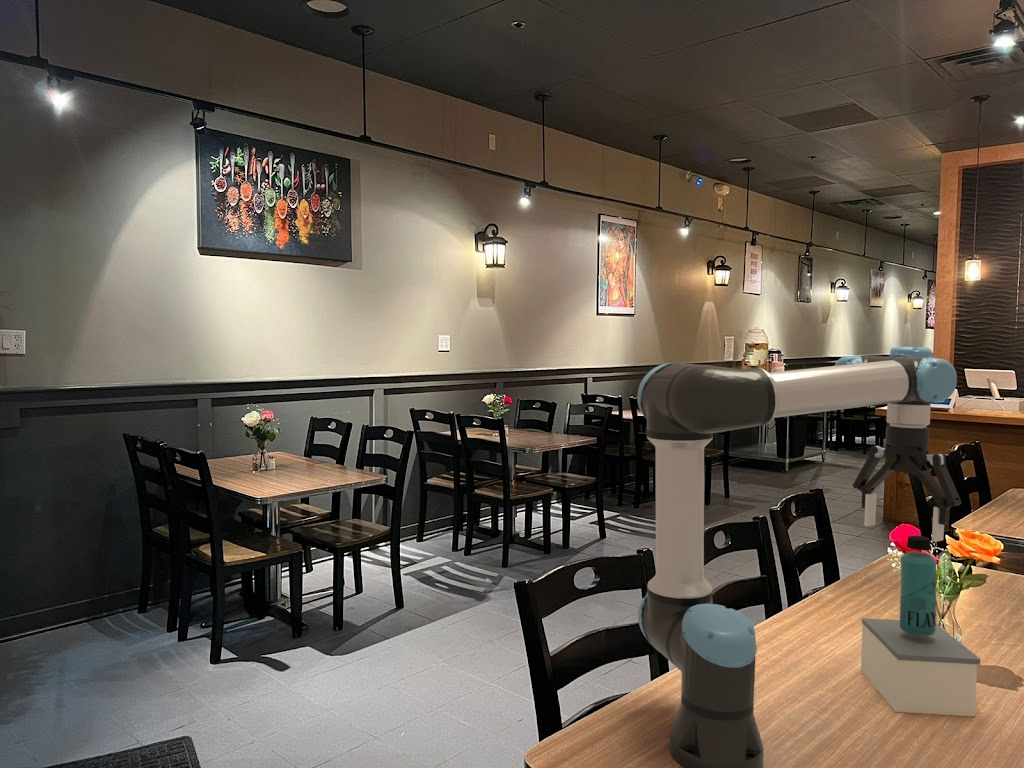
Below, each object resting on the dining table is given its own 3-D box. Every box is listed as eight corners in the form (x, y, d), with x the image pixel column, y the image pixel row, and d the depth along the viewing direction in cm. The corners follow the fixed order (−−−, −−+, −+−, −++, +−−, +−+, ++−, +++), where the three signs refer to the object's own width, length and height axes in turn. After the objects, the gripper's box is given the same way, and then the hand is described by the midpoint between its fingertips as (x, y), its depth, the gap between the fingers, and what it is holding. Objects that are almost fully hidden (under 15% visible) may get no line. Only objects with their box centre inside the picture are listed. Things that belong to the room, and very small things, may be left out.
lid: (898, 659, 138) (898, 654, 138) (861, 622, 157) (862, 618, 157) (980, 664, 137) (980, 659, 137) (933, 626, 155) (934, 621, 155)
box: (895, 711, 139) (897, 659, 139) (860, 670, 157) (862, 623, 157) (974, 716, 138) (977, 663, 137) (930, 673, 156) (932, 627, 155)
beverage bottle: (901, 641, 144) (903, 540, 143) (896, 629, 151) (897, 531, 150) (939, 645, 142) (941, 542, 141) (932, 632, 149) (933, 534, 148)
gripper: (985, 431, 138) (979, 545, 139) (859, 418, 158) (854, 517, 159) (965, 433, 133) (958, 550, 135) (838, 420, 154) (833, 521, 155)
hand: (902, 532), depth 147 cm, fingers open, 13 cm apart
